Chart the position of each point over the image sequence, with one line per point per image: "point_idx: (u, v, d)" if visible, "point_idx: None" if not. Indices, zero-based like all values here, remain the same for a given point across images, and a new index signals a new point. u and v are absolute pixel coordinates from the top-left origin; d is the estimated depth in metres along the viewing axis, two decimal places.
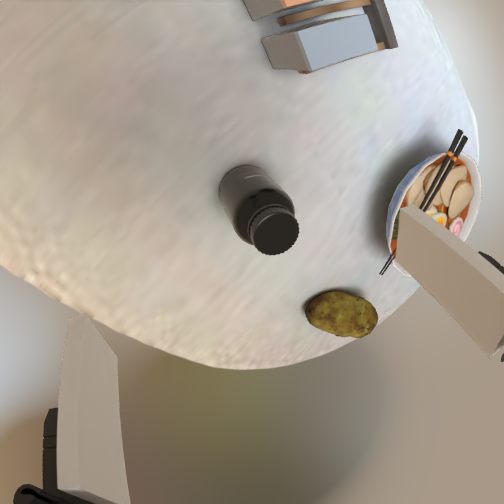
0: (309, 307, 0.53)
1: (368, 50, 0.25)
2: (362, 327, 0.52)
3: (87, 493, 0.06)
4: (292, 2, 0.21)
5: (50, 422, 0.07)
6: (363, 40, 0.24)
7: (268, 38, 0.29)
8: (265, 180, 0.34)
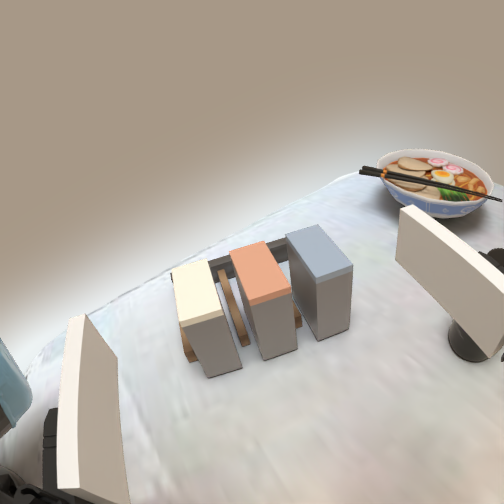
0: None
1: (320, 230, 0.35)
2: None
3: (87, 493, 0.06)
4: (285, 282, 0.30)
5: (50, 422, 0.07)
6: (312, 234, 0.35)
7: (318, 327, 0.34)
8: None
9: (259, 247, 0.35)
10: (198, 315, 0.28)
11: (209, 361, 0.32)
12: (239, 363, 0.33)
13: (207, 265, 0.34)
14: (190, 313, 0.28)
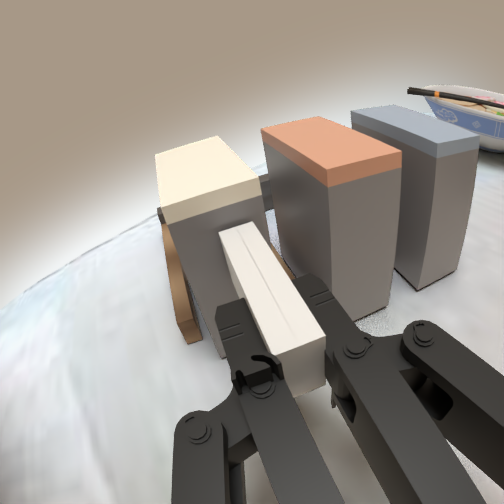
0: None
1: (403, 108, 0.19)
2: None
3: (296, 359, 0.08)
4: (388, 147, 0.13)
5: (223, 316, 0.10)
6: (393, 110, 0.19)
7: (425, 261, 0.17)
8: None
9: (314, 121, 0.18)
10: (205, 192, 0.12)
11: None
12: None
13: (219, 140, 0.18)
14: (187, 192, 0.13)
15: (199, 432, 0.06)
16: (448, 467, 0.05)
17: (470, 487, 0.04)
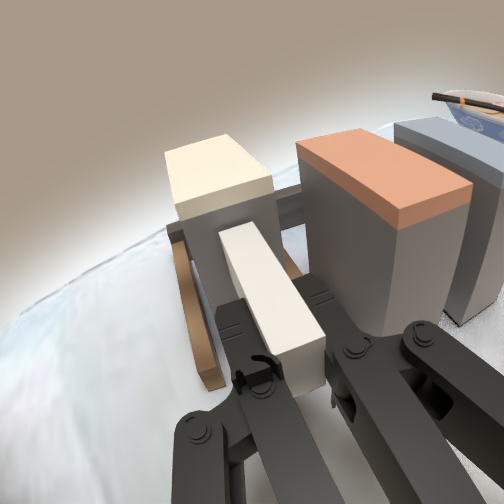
0: None
1: (448, 121, 0.16)
2: None
3: (296, 359, 0.08)
4: (457, 178, 0.10)
5: (223, 316, 0.10)
6: (439, 124, 0.16)
7: (472, 297, 0.14)
8: None
9: (358, 135, 0.15)
10: (219, 189, 0.12)
11: None
12: None
13: (229, 138, 0.18)
14: (200, 189, 0.13)
15: (199, 432, 0.06)
16: (448, 467, 0.05)
17: (470, 487, 0.04)
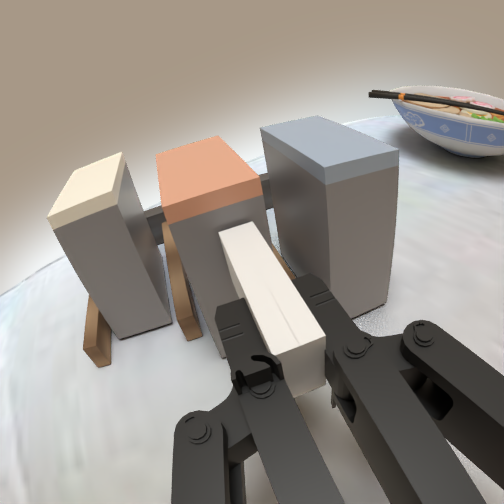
0: None
1: (323, 119, 0.18)
2: None
3: (296, 359, 0.08)
4: (248, 173, 0.13)
5: (223, 316, 0.10)
6: (309, 123, 0.18)
7: None
8: None
9: (208, 142, 0.18)
10: (75, 204, 0.15)
11: (111, 305, 0.18)
12: (164, 313, 0.20)
13: (119, 156, 0.20)
14: (66, 205, 0.15)
15: (199, 432, 0.06)
16: (448, 467, 0.05)
17: (470, 487, 0.04)
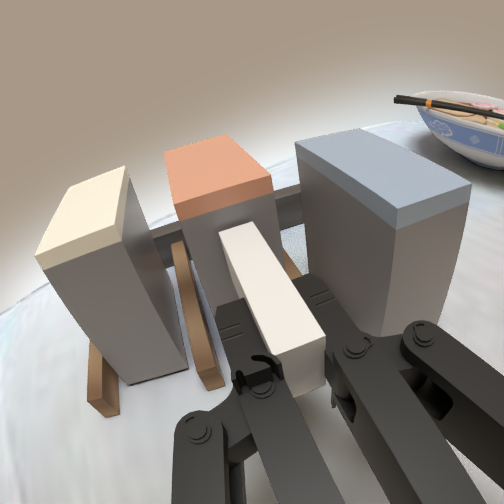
0: None
1: (369, 134, 0.15)
2: None
3: (296, 359, 0.08)
4: (259, 171, 0.13)
5: (223, 316, 0.10)
6: (353, 139, 0.15)
7: None
8: None
9: (216, 140, 0.18)
10: (68, 241, 0.12)
11: (118, 352, 0.15)
12: (180, 359, 0.17)
13: (122, 172, 0.17)
14: (58, 239, 0.12)
15: (199, 432, 0.06)
16: (448, 467, 0.05)
17: (470, 487, 0.04)
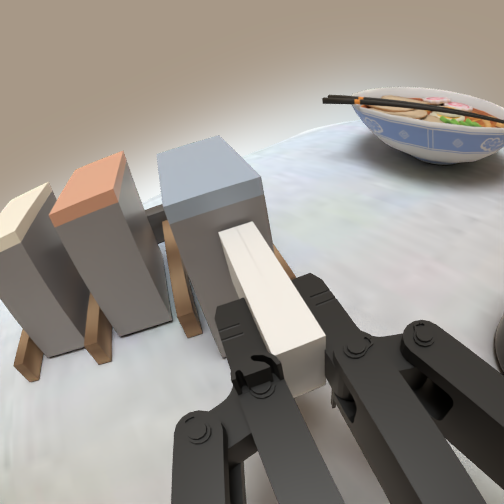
0: None
1: (219, 140, 0.18)
2: None
3: (296, 359, 0.08)
4: (109, 186, 0.16)
5: (223, 316, 0.10)
6: (201, 146, 0.18)
7: (214, 331, 0.16)
8: None
9: (111, 157, 0.21)
10: None
11: (34, 328, 0.18)
12: (81, 337, 0.19)
13: (42, 188, 0.20)
14: None
15: (199, 432, 0.06)
16: (448, 467, 0.05)
17: (470, 487, 0.04)
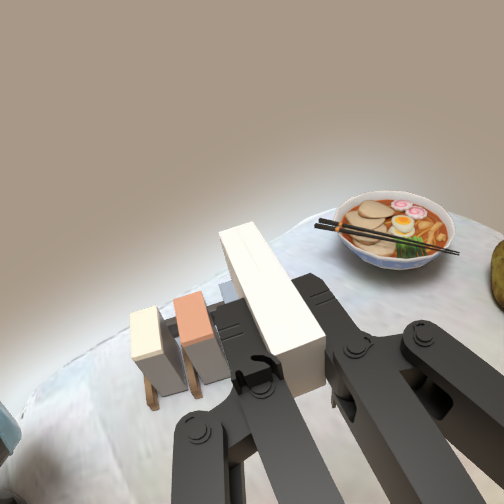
0: None
1: None
2: None
3: (296, 359, 0.08)
4: (209, 329, 0.37)
5: (223, 316, 0.10)
6: None
7: None
8: None
9: (196, 297, 0.42)
10: (144, 353, 0.36)
11: (159, 385, 0.39)
12: (184, 386, 0.41)
13: (155, 311, 0.41)
14: (139, 351, 0.36)
15: (199, 432, 0.06)
16: (448, 467, 0.05)
17: (470, 487, 0.04)
